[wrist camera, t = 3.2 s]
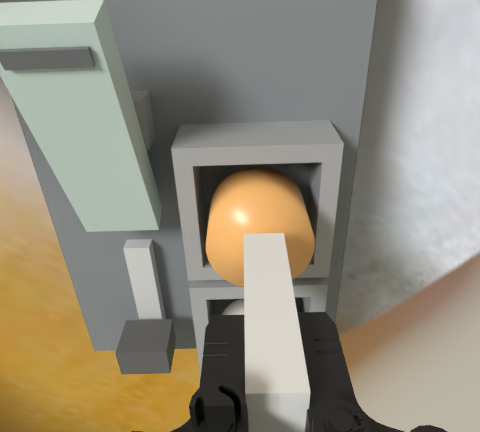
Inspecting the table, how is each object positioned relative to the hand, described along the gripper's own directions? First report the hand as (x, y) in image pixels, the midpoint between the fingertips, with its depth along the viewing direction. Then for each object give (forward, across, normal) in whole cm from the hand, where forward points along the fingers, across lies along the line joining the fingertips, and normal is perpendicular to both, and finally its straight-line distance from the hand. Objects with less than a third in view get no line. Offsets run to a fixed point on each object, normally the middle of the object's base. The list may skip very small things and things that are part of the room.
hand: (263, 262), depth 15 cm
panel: (+10, -3, 0) cm, 11 cm away
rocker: (+3, -7, +4) cm, 8 cm away
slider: (+5, -7, -9) cm, 12 cm away
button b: (+4, 0, 0) cm, 4 cm away
